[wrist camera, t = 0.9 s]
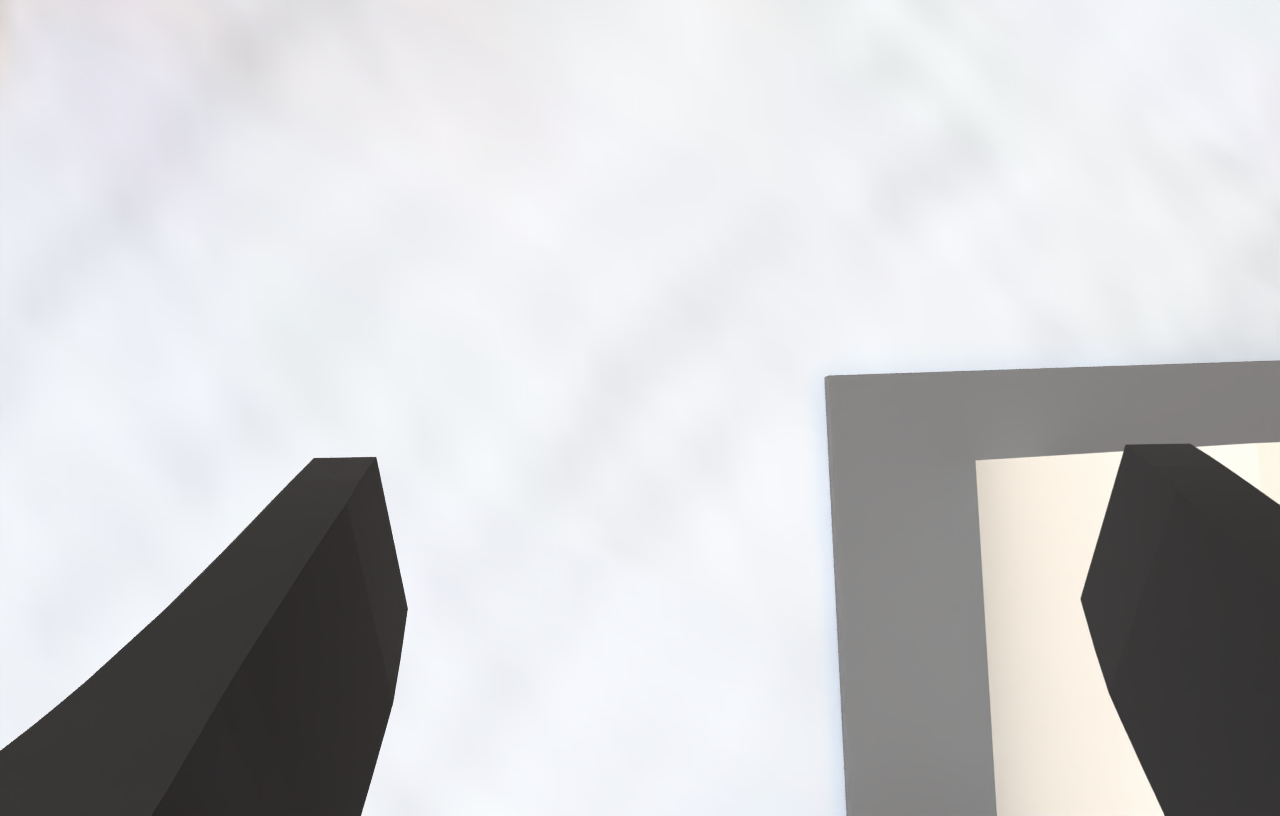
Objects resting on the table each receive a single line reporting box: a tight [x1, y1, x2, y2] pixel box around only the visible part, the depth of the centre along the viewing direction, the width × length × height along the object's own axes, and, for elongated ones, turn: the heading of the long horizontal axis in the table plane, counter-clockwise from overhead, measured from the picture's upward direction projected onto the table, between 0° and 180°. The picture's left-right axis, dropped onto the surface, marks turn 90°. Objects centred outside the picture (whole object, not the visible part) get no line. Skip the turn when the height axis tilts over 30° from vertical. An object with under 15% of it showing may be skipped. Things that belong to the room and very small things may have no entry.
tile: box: [976, 442, 1280, 816], centre depth 19 cm, size 8×2×10 cm, turn 2°
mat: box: [825, 361, 1280, 816], centre depth 24 cm, size 16×16×1 cm
